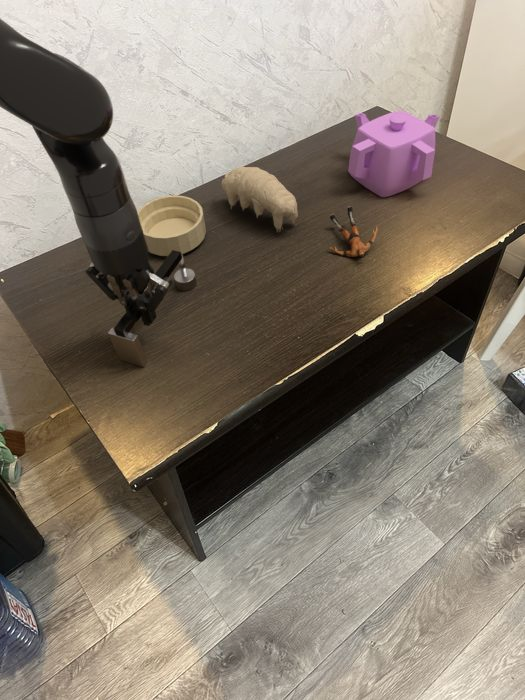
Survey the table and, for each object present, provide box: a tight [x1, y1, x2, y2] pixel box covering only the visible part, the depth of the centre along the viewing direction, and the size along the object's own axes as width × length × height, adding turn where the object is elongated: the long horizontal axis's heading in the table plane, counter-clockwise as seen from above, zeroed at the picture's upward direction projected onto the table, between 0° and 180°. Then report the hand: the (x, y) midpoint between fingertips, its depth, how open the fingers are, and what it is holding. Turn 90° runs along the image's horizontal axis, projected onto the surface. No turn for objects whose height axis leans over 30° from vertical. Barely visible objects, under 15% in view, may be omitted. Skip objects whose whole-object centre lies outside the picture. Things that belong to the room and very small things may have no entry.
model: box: [221, 166, 299, 233], centre depth 95 cm, size 7×18×10 cm, turn 49°
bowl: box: [137, 195, 207, 257], centre depth 94 cm, size 13×13×5 cm
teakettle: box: [347, 109, 440, 198], centre depth 100 cm, size 17×17×12 cm
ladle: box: [107, 250, 198, 368], centre depth 80 cm, size 20×4×8 cm, turn 158°
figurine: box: [329, 205, 379, 259], centre depth 91 cm, size 9×2×11 cm
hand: (143, 319), depth 77 cm, fingers closed on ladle
